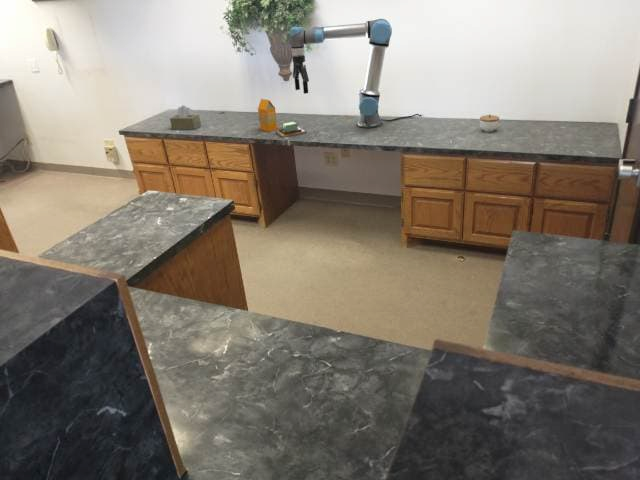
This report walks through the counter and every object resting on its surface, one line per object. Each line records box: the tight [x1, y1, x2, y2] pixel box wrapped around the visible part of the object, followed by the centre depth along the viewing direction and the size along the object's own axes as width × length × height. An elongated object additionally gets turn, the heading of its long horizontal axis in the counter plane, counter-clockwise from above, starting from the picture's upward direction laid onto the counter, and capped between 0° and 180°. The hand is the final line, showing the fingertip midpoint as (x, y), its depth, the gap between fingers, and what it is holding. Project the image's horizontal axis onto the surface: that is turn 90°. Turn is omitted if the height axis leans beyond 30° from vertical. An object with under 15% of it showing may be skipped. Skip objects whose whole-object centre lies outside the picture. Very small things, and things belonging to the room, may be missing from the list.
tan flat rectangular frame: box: [275, 126, 306, 138], centre depth 330 cm, size 16×12×2 cm
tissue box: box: [169, 104, 202, 131], centre depth 359 cm, size 19×10×16 cm, turn 73°
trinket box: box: [479, 114, 500, 133], centre depth 299 cm, size 11×11×9 cm
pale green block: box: [281, 121, 298, 132], centre depth 329 cm, size 8×6×5 cm
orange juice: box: [257, 98, 278, 133], centre depth 337 cm, size 8×9×20 cm
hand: (301, 91), depth 313 cm, fingers open, 13 cm apart
